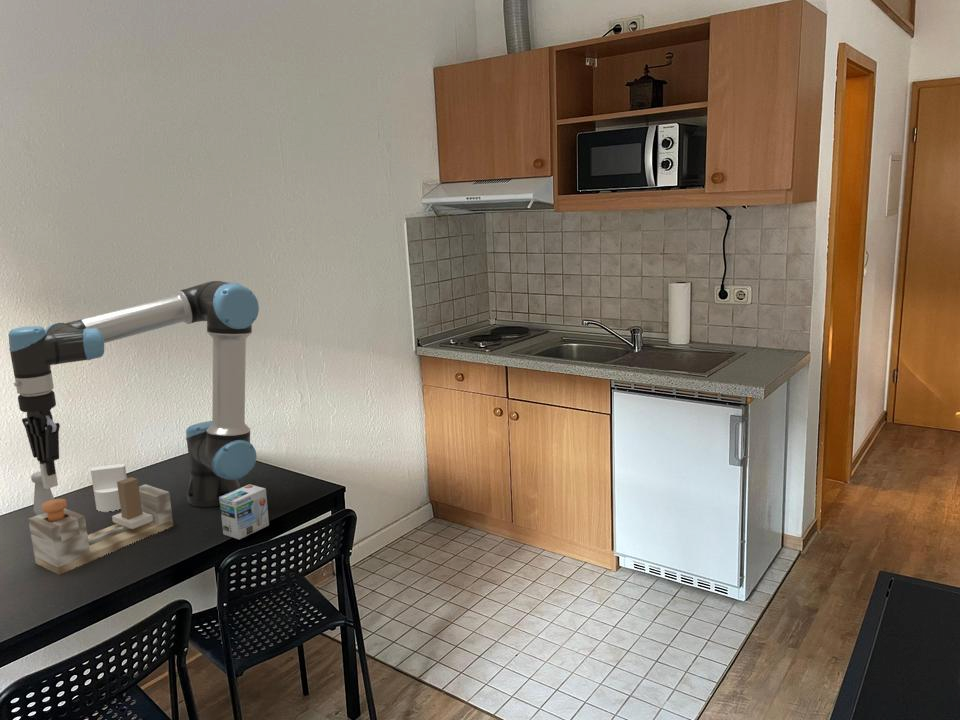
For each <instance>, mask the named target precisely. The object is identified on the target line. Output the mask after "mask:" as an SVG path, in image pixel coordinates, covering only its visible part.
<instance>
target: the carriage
mask: <svg viewBox="0 0 960 720" xmlns="http://www.w3.org/2000/svg"><path fill="white" fill-rule="evenodd" d="M117 486H118V493H119V500H120V507H121V510H120V512H119V513H116V514H114V515H112V516H111V518H112V522H113V523H115V524H120V525H123V526H125V527H128V528H131V529H134V528H136V527H139V526H141V525H144V524H146V523H149V522H151V521H153V516H152V515H151V514H148V513H145V512H142V508H141V500H140V493H139V480H138V478H135V477H133V476H130V477H127V479H124V480H121V481H118V482H117Z"/></svg>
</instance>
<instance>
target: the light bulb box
mask: <svg viewBox="0 0 960 720" xmlns="http://www.w3.org/2000/svg"><path fill="white" fill-rule="evenodd" d="M219 499H220V505H219V509H220V515H221V525H222V534H223V535H224V536H227V537H230V538H234V539H236V540H242V539H243V538H246V537H248V536H249V535H251V534H252V535H253V534H254V533H256V532H259V531H260V530H262V529H264V528H266V527H268V526H270V521H269V519H270V518H269V509H268V498H267V488H265V487H262V486H261V487H260V486H258V485H255V484H254V485H253V484H251V483H249V484H246V485H245V486H242V487H241V488H240V489H237V490H235V491H233V492H230V493H228V494H226V495H223V496H221V497H219Z"/></svg>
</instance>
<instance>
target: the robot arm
mask: <svg viewBox="0 0 960 720" xmlns="http://www.w3.org/2000/svg"><path fill="white" fill-rule="evenodd" d="M259 310H260V306H259V301H258V299H257V297H256V295H255V293H254V292H253V291H252V290H251V289H249V288H248V287H246V286H244V285H242V284H240V283H234V282H227V281H223V280H222V281H221V280H213V281H212V280H211V281H208V282H204V283H201V284H196V285H193V286H191V287H188V288H183V289H180V290H177V291H176V293H175V294H174V295H171V296H167V297H164V298H160V299H156V300H152V301H148V302H144V303H140V304H137V305H136V304H135V305H133V306H128V307H124V308H121V309H120V308H119V309H116V310H115V309H114V310H112V311H109V312H104V313H100V314H96V315H92V316H89V317H85V318H80V319H77V320H73V321H69V322H66V323H65V322H55V323H52V324H50V325H48V326H47V327H46V329H45V328H44V327H43V326H41V325H31V326H27V325H26V326H20V327H15V328H13V329H11V330H10V331H9V332H8V345H9V346H8V347H9V348H8V350H9V354H10V359H11V360H10V361H11V363H12V368H13V369H12V370H13V375H14V380H15V381H14V383H13V385H14V387H15V388H16V392H17V394H18V396H17V400H18V402H17V403H18V408H19V410H20V411H21V412H23V413H26V417H24V418H22V419H21V422H22V424H23V426H24V429H25V431H26V436H27V439H28V442H29V446H30V449H31V453H32V456H33V458H36V460H37V461H38V463H39V469H40V471H41V476H42V482H43V488H45V489H49V488H50V489H51V488H54V487H58V486H59V483H58V477H57V470H56V463H55V461H57V460H59V459H60V448H59V447H60V437H59V435H60V427H61V425H60V423H59V422H54V418H53V415H52V411H51V410H52V409H53V408H55V407H56V405H57V401H56V394H55V392H54V388H55V387H54V381H53V373H52V370H51V366H53V365H54V366H56V365H61V364H68V363H75V362H83V361H91V360H94V359H100V358H101V357H103V356H104V354H105V344H107V343H110V342H114V341H117V340H122V339H125V338H128V337H132V336H135V335H136V336H137V335H140V334H144V333H147V332H150V331H155V330H158V329H162V328H165V327H169V326H173V325H176V324H179V323H180V324H181V323H186V324H188V325H191V324H194V323H198V322H206V333H207V334H208V335H209V336H210V337H211V338H212V414H211V415H212V417H211V418H212V420H207V421H201V422H198V423H194V424H191V425H190V426H188V427H187V428H186V430H185V435H186V437H185V440H186V446H187V453H188V455H187V456H188V462H189V469H190V479H189V485H188V489H187V492H186V499H187V503H188V505H191V506H193V507H197V508H210V507H211V508H212V507H218V506H220V499H219V497H221V496H223V495H226V494H228V493H230V492H233V491H235V490H237V489H240V488H242V487H241V484H240V483H239V479H242V478H243V477H245V476H246V475H248V474H249V472H251V471H252V470H253V469H254V467H255V465H256V461H257V452H256V449H255V446H254V445H253V444H252V443H251V428H250V426H248V425H247V424H246V423H245V422H246V421H245V418H246V417H245V416H246V411H245V410H246V351H247V350H246V349H247V348H246V347H247V345H246V344H247V343H246V342H247V338H248V337H249V336H251V334H252V330H253V328H252V327H253V324H254V322H255V321H256V320H257V318H258V315H259Z"/></svg>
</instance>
